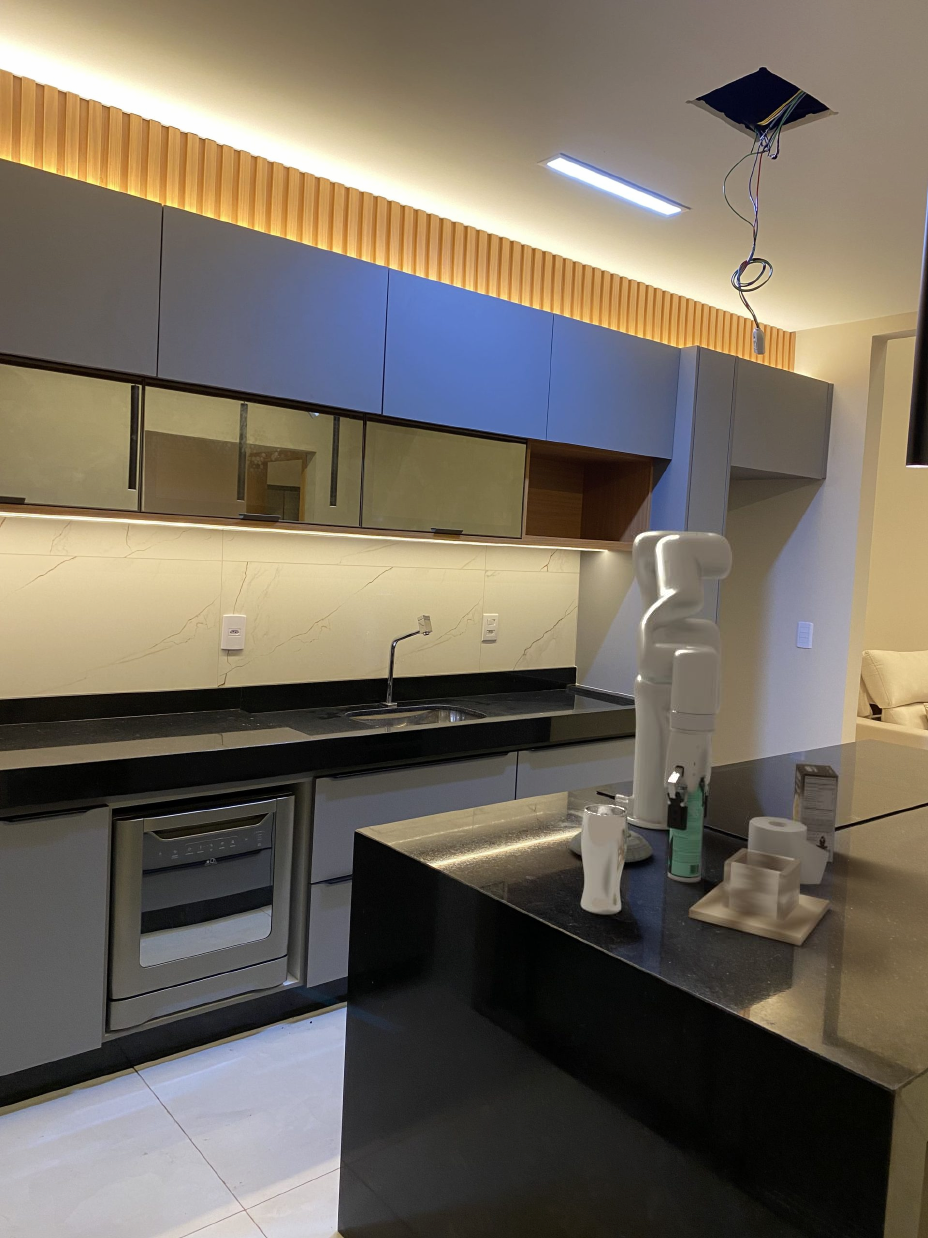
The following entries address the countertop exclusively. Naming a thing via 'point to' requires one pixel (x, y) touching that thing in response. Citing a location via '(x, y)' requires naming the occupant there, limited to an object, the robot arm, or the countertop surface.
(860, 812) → the countertop surface
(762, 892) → the can caddy
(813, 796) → the coffee box
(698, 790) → the spray can
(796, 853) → the toilet tissue
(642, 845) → the flying saucer
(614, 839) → the beer glass
